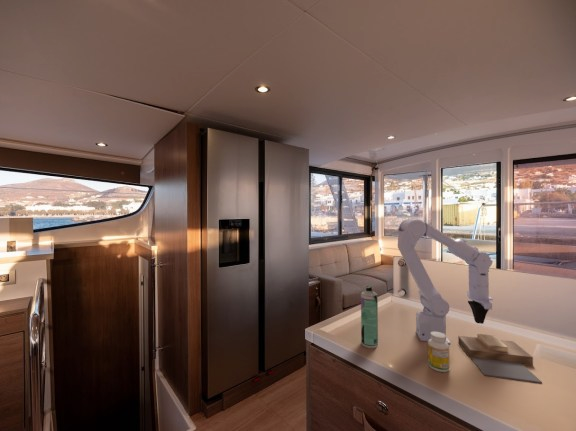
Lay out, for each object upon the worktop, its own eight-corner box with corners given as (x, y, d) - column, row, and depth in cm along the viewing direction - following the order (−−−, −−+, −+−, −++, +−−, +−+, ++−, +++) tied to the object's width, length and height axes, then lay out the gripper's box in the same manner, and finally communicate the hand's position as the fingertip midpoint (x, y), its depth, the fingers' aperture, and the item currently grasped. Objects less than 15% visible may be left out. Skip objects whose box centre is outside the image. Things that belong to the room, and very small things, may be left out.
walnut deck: (470, 357, 80) (470, 349, 80) (458, 342, 89) (458, 335, 89) (532, 365, 76) (532, 357, 76) (513, 348, 85) (513, 341, 85)
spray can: (378, 342, 90) (378, 285, 90) (377, 349, 85) (376, 289, 85) (362, 339, 92) (362, 283, 93) (360, 346, 87) (359, 287, 88)
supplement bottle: (447, 375, 71) (447, 340, 71) (426, 368, 75) (425, 335, 75) (450, 366, 75) (450, 333, 75) (430, 360, 79) (430, 328, 79)
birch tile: (488, 349, 80) (488, 345, 80) (477, 338, 88) (477, 333, 88) (507, 352, 78) (507, 347, 78) (494, 339, 86) (494, 335, 86)
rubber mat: (484, 375, 71) (484, 374, 71) (470, 358, 80) (470, 357, 80) (541, 383, 67) (541, 381, 67) (521, 364, 76) (521, 363, 76)
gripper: (502, 291, 84) (503, 332, 84) (482, 280, 98) (482, 316, 98) (477, 289, 86) (478, 330, 86) (461, 279, 100) (461, 314, 99)
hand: (479, 322), depth 92 cm, fingers closed
